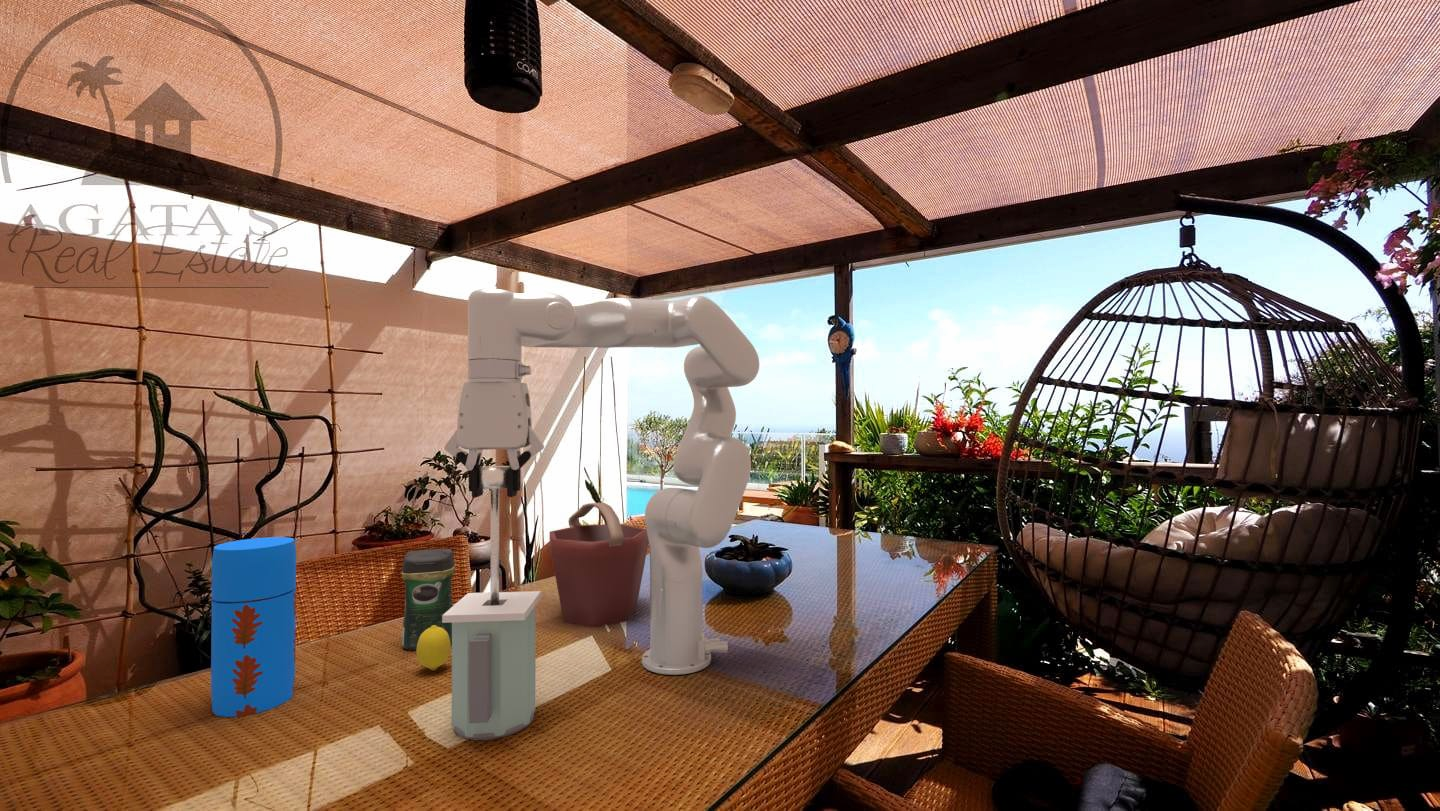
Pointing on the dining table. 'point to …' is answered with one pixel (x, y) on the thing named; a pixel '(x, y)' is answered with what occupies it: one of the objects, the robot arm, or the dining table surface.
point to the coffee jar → (426, 592)
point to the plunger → (494, 519)
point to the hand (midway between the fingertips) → (494, 495)
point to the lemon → (433, 647)
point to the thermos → (253, 625)
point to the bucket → (598, 568)
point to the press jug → (493, 664)
